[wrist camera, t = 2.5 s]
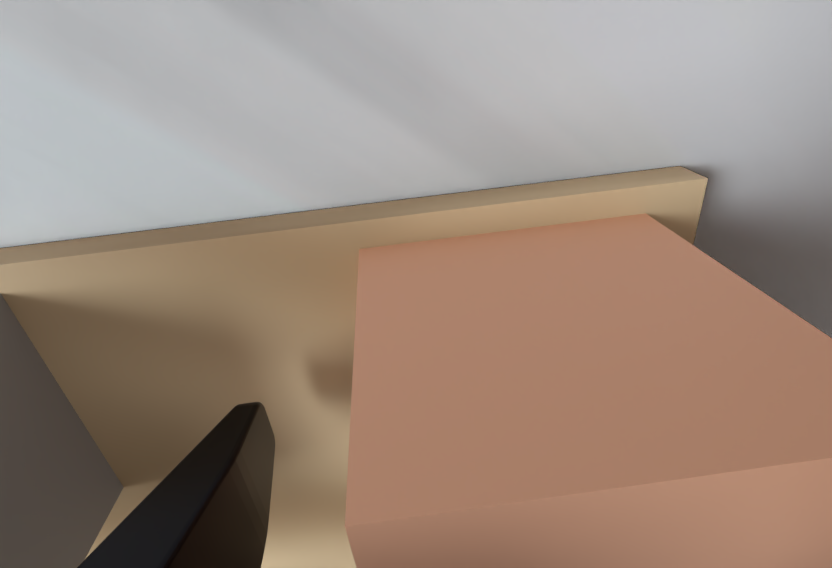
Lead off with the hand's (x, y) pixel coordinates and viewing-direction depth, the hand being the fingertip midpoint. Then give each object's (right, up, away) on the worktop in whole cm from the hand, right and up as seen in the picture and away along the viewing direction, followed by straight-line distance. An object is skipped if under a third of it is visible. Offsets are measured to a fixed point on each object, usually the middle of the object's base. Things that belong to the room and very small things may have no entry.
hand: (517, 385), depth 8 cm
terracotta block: (0, +1, +1) cm, 1 cm away
